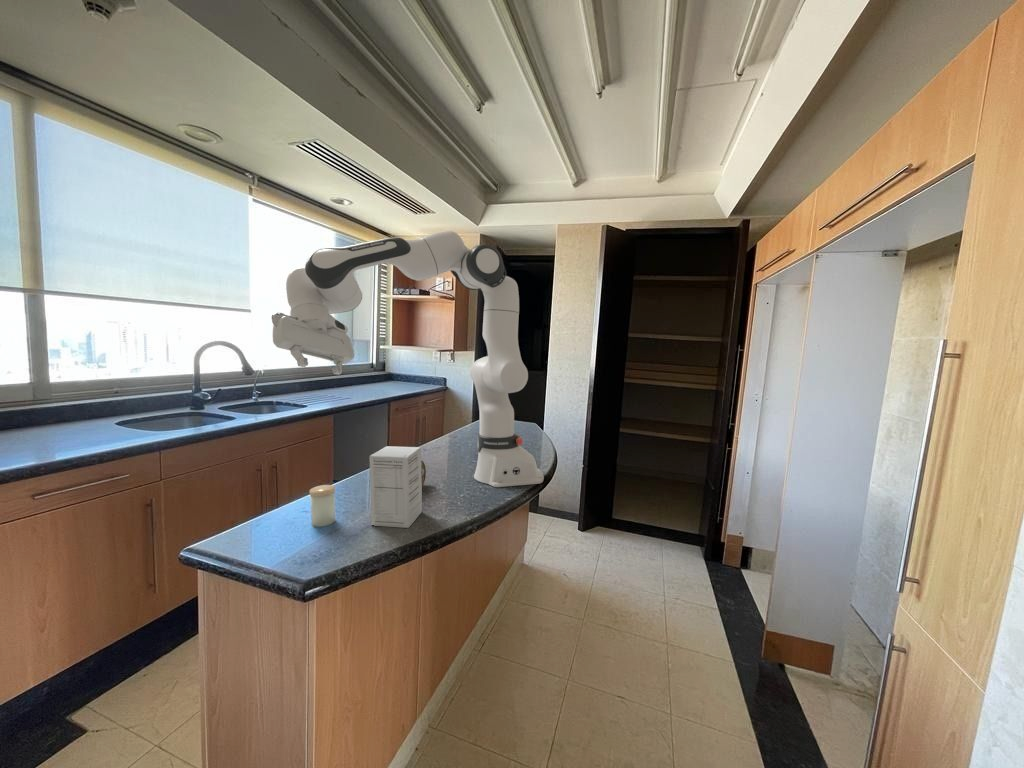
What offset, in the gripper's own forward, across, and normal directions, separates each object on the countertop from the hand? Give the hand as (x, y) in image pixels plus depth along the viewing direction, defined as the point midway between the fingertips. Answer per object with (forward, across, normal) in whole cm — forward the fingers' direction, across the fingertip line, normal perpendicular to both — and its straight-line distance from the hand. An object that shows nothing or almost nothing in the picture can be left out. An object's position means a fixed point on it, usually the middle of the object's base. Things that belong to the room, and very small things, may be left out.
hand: (321, 369), depth 93 cm
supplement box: (+39, +14, +1) cm, 41 cm away
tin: (+31, +28, +7) cm, 42 cm away
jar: (+33, +4, +14) cm, 36 cm away
